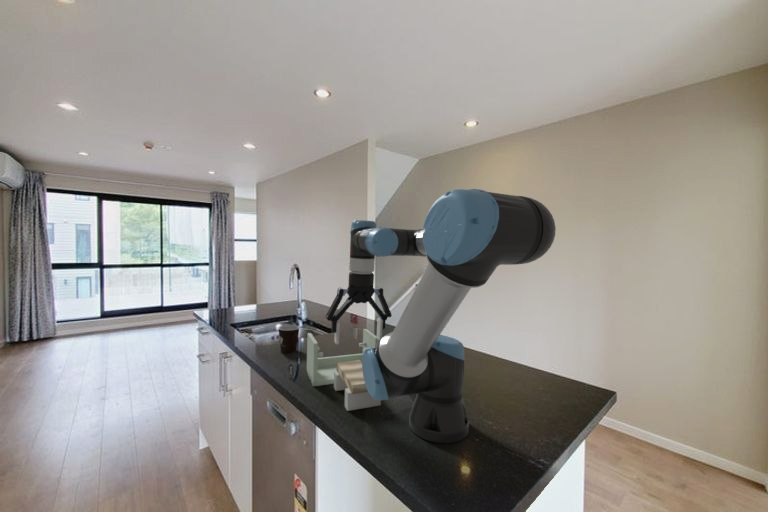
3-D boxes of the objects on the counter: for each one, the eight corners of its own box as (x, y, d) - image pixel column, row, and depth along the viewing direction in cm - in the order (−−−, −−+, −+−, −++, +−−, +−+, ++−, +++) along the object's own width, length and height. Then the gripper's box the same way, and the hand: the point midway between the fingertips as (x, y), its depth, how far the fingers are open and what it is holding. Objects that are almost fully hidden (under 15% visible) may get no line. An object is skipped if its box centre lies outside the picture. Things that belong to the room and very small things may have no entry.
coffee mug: (278, 348, 140) (278, 325, 140) (298, 347, 143) (299, 324, 142) (277, 357, 129) (278, 332, 129) (299, 355, 132) (300, 331, 131)
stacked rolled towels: (379, 390, 91) (379, 381, 91) (352, 394, 88) (352, 385, 88) (359, 367, 108) (359, 360, 108) (336, 370, 105) (336, 362, 105)
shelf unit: (377, 377, 112) (378, 337, 112) (313, 386, 104) (314, 343, 103) (365, 364, 124) (366, 328, 124) (306, 371, 116) (307, 333, 115)
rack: (380, 405, 93) (381, 388, 93) (347, 411, 89) (347, 393, 89) (362, 382, 107) (363, 368, 107) (333, 387, 104) (334, 371, 103)
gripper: (394, 270, 104) (390, 334, 106) (317, 270, 95) (315, 340, 96) (404, 273, 97) (400, 341, 99) (322, 273, 88) (319, 349, 90)
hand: (358, 341), depth 98 cm, fingers open, 13 cm apart
